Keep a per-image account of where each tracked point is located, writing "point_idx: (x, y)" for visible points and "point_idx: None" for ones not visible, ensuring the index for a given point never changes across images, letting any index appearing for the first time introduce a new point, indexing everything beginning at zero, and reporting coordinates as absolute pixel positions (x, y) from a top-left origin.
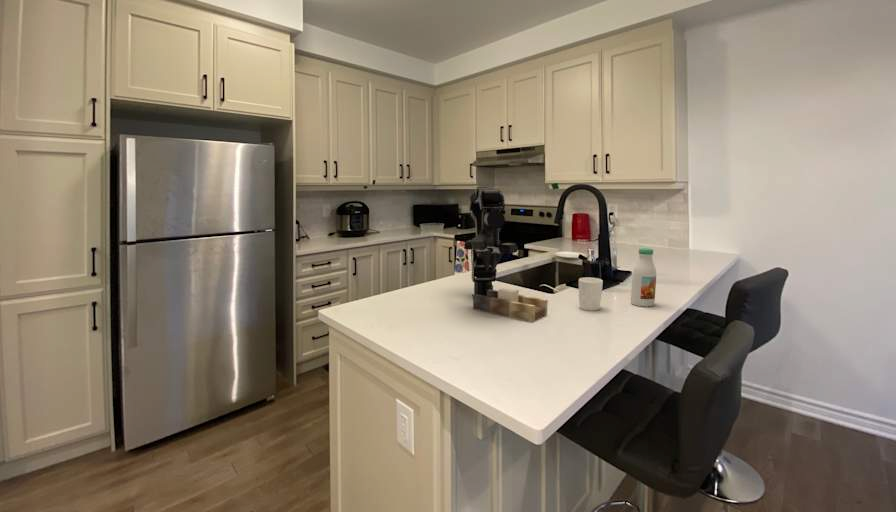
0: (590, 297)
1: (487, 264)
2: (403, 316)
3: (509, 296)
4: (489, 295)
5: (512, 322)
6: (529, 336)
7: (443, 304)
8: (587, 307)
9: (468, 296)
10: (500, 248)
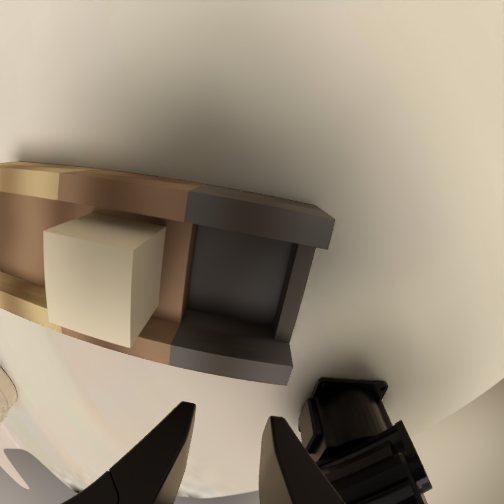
0: None
1: (270, 488)
2: (488, 20)
3: (67, 226)
4: (273, 347)
5: (68, 108)
6: (10, 34)
7: (464, 218)
8: None
9: (399, 378)
10: None
